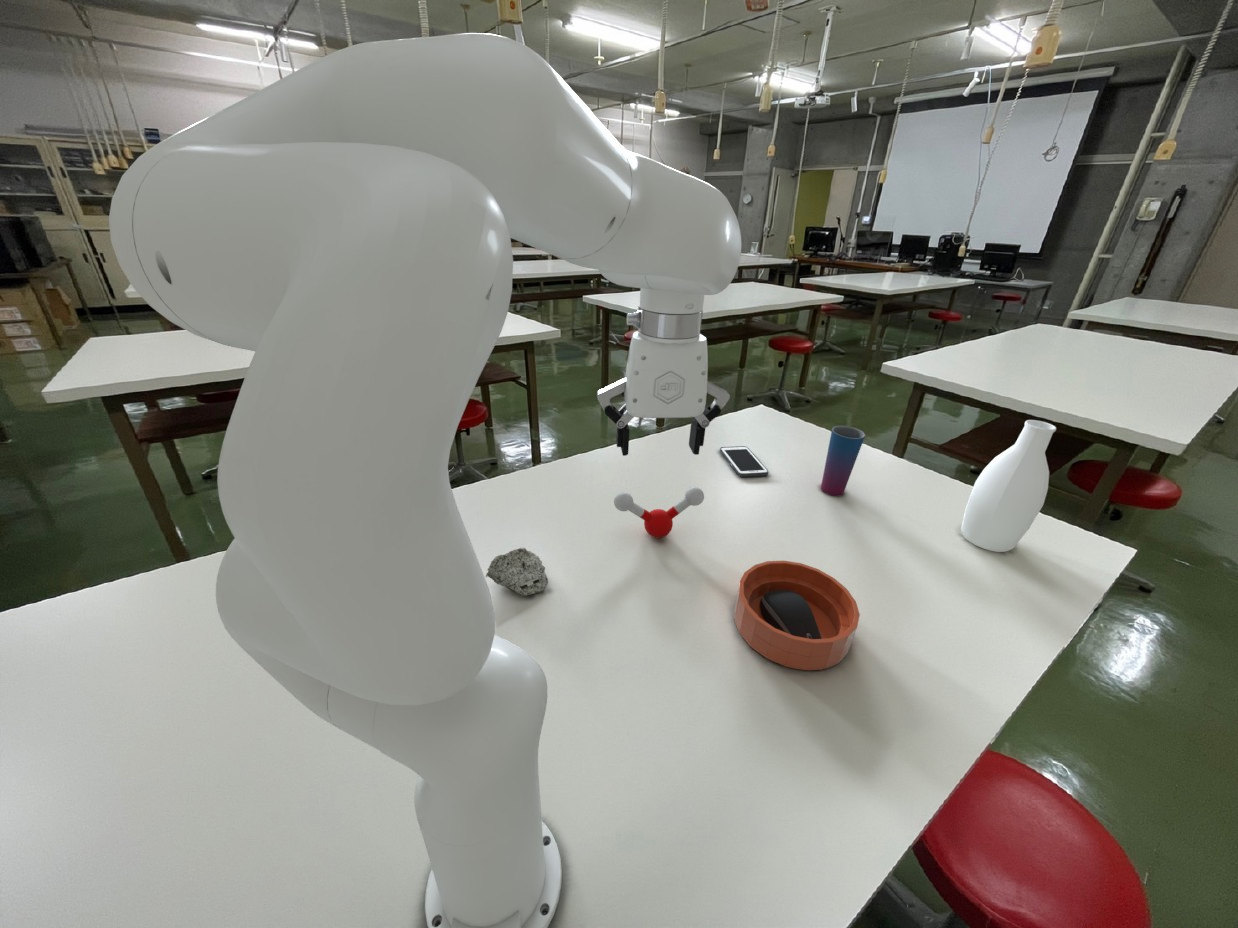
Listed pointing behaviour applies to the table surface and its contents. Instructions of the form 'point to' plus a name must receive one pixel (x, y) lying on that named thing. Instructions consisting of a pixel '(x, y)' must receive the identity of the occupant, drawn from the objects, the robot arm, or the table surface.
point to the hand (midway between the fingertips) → (659, 450)
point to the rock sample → (519, 571)
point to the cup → (841, 458)
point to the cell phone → (743, 461)
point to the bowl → (825, 600)
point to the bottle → (1009, 491)
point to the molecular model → (659, 511)
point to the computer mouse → (789, 614)
